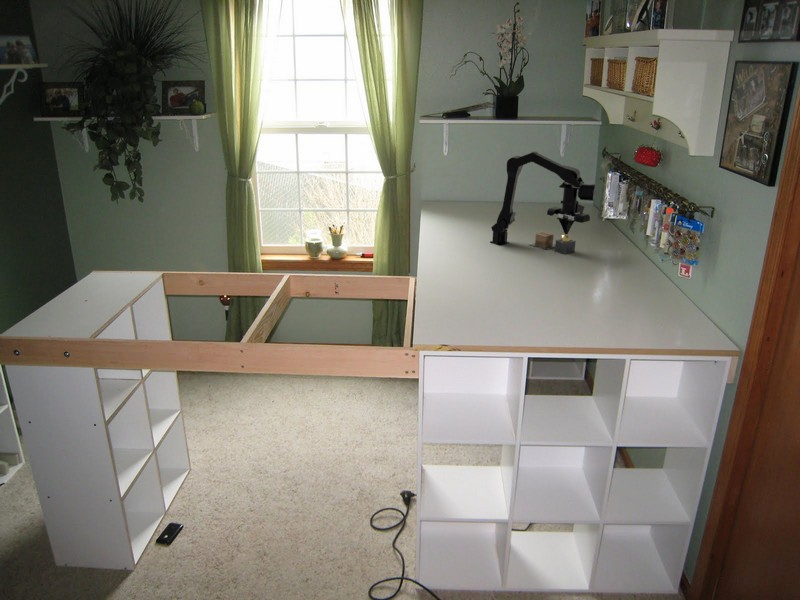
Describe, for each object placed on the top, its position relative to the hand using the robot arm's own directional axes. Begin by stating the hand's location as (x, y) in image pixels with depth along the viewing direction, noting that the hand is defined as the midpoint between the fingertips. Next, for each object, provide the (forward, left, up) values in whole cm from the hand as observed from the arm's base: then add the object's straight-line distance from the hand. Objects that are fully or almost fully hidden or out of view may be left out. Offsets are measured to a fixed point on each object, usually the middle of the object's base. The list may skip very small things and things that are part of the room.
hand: (566, 234), depth 281 cm
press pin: (0, 0, -5) cm, 5 cm away
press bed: (0, +11, -8) cm, 14 cm away
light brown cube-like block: (0, +11, -8) cm, 14 cm away
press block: (0, 0, -8) cm, 8 cm away
